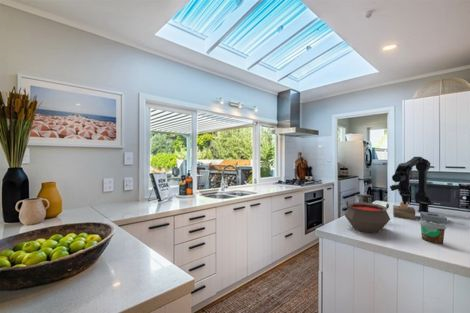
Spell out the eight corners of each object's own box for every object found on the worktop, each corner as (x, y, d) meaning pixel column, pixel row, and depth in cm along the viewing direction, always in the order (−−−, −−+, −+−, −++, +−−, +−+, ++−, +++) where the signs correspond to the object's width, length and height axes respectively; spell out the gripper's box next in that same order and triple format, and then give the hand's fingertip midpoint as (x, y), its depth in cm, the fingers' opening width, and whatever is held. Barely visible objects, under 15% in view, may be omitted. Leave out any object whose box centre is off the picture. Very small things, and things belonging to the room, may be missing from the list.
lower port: (420, 216, 162) (420, 211, 162) (442, 219, 155) (442, 214, 155) (422, 220, 152) (423, 215, 151) (447, 223, 145) (447, 218, 145)
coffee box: (367, 216, 160) (368, 194, 160) (372, 219, 154) (372, 195, 153) (354, 216, 161) (354, 193, 161) (358, 219, 155) (358, 195, 154)
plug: (399, 210, 165) (399, 201, 165) (407, 211, 163) (407, 202, 162) (400, 212, 161) (400, 202, 161) (407, 213, 159) (408, 203, 159)
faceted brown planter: (345, 232, 128) (346, 204, 128) (342, 220, 150) (343, 196, 150) (396, 238, 119) (396, 208, 119) (385, 225, 141) (385, 199, 141)
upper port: (393, 213, 170) (393, 205, 170) (413, 215, 164) (413, 207, 164) (393, 216, 160) (393, 208, 160) (415, 219, 154) (415, 210, 154)
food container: (412, 236, 123) (412, 218, 123) (423, 236, 123) (423, 217, 123) (434, 245, 111) (434, 225, 110) (445, 245, 111) (446, 225, 111)
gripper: (390, 179, 174) (389, 199, 174) (391, 181, 158) (390, 204, 158) (408, 180, 168) (408, 201, 168) (411, 183, 152) (410, 206, 152)
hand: (403, 203), depth 162 cm, fingers open, 9 cm apart
